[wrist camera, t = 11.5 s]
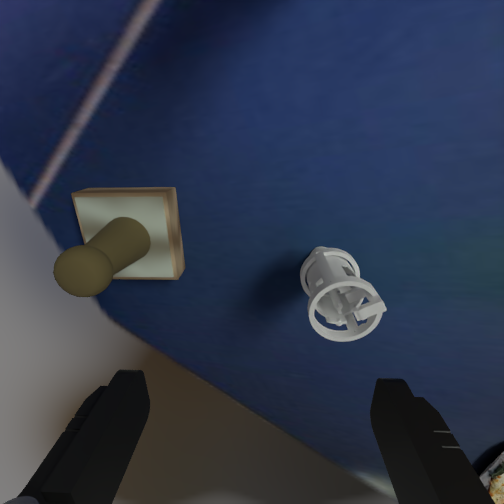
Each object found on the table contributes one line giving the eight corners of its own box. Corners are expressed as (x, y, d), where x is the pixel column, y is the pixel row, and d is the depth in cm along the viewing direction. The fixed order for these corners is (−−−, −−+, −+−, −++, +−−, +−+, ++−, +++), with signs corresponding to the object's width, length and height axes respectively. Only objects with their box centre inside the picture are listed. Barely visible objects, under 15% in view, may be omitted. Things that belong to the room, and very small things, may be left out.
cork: (112, 262, 38) (55, 309, 27) (98, 219, 35) (30, 252, 25) (155, 258, 37) (113, 304, 27) (143, 214, 35) (92, 247, 25)
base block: (88, 187, 38) (69, 193, 34) (175, 187, 37) (165, 192, 33) (107, 267, 42) (92, 279, 39) (185, 267, 42) (177, 280, 38)
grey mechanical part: (352, 266, 40) (397, 334, 26) (308, 285, 42) (327, 358, 28) (334, 224, 38) (372, 275, 24) (287, 246, 40) (298, 305, 26)
